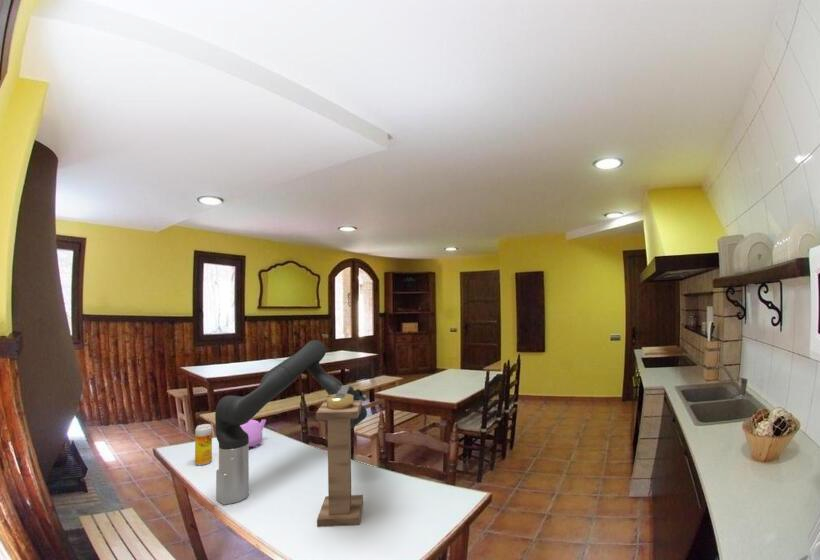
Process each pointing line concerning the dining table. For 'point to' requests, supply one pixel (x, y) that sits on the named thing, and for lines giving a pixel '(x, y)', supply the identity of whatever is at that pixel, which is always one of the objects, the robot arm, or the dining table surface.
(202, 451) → the beer can
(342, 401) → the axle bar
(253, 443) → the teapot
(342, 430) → the wooden stand
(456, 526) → the dining table surface
